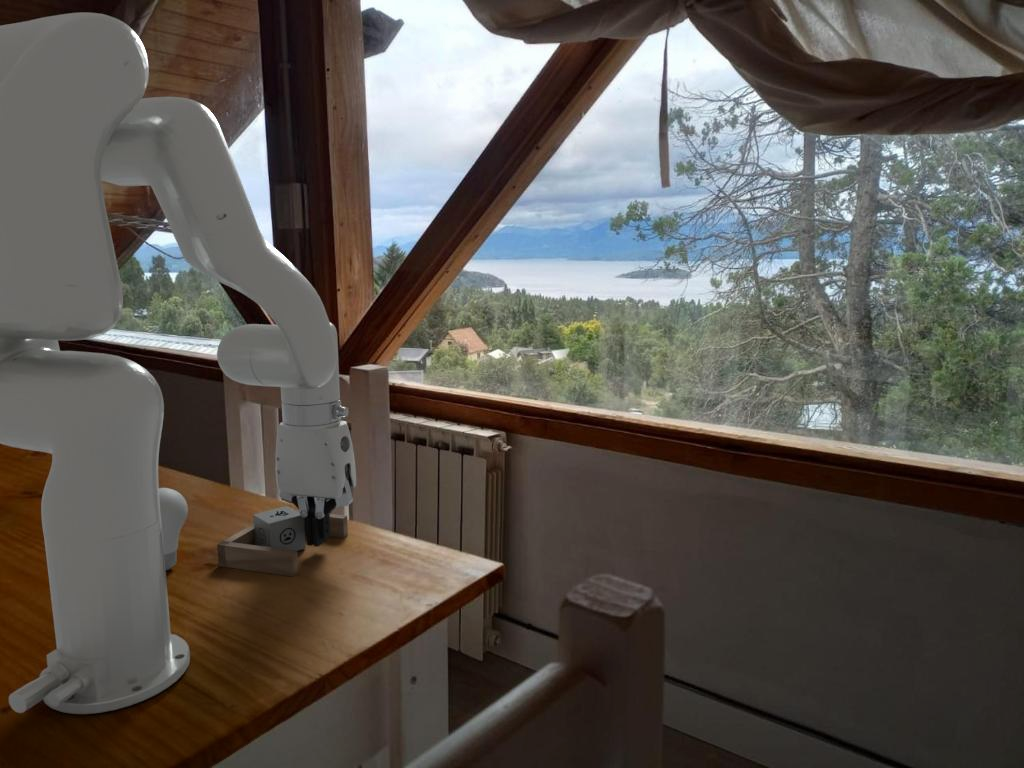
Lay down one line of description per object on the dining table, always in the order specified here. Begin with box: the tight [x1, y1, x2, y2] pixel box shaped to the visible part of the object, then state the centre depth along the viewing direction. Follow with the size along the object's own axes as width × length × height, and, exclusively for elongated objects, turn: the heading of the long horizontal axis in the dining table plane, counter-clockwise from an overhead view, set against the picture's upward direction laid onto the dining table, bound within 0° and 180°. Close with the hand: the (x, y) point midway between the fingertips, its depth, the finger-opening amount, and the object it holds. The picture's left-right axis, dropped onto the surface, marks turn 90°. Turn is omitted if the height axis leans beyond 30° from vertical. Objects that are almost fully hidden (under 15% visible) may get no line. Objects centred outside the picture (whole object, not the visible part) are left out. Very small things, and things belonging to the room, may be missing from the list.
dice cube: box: [252, 505, 306, 552], centre depth 98 cm, size 5×5×5 cm
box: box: [216, 509, 349, 577], centre depth 98 cm, size 14×11×3 cm
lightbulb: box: [159, 487, 189, 571], centre depth 91 cm, size 6×6×11 cm
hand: (318, 541), depth 97 cm, fingers closed
